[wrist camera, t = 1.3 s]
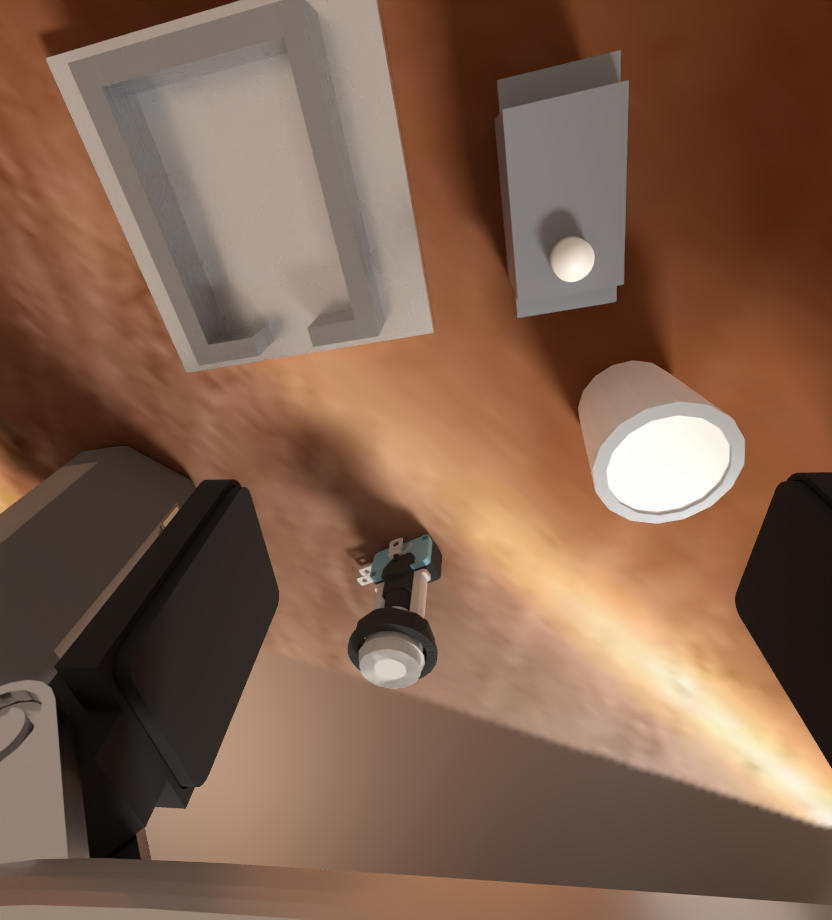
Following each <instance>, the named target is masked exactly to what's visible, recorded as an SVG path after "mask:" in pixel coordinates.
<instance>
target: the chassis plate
mask: <svg viewBox="0 0 832 920" xmlns="http://www.w3.org/2000/svg"><path fill="white" fill-rule="evenodd" d="M46 61H47V63H48V65H49V67H50V70H51V72H52V74H53V76H54V79H55V81H56V83H57V85H58V87H59V90H60V92H61V94H62V96H63V99H64V101H65V103H66V105H67V107H68V110H69V112H70V114H71V116H72V119H73V121H74V123H75V125H76V127H77V130H78V132H79V134H80V136H81V139H82V141H83V143H84V145H85V147H86V150H87V152H88V154H89V156H90V159H91V161H92V163H93V165H94V167H95V170H96V172H97V174H98V176H99V179H100V181H101V183H102V185H103V187H104V190H105V192H106V194H107V196H108V199H109V201H110V203H111V205H112V207H113V210H114V212H115V214H116V216H117V219H118V221H119V223H120V225H121V227H122V230H123V232H124V234H125V236H126V239H127V241H128V243H129V245H130V248H131V250H132V252H133V254H134V256H135V259H136V261H137V263H138V265H139V268H140V270H141V272H142V274H143V276H144V279H145V281H146V283H147V285H148V288H149V290H150V292H151V294H152V296H153V299H154V301H155V303H156V305H157V308H158V310H159V312H160V314H161V316H162V319H163V321H164V323H165V325H166V328H167V330H168V332H169V334H170V336H171V339H172V341H173V343H174V345H175V348H176V350H177V352H178V354H179V356H180V359H181V361H182V363H183V365H184V368H185V370H186V372H187V373H188V372H195V371H201V370H207V369H213V368H219V367H225V366H231V365H238V364H244V363H250V362H256V361H262V360H268V359H275V358H281V357H287V356H293V355H299V354H305V353H312V352H318V351H324V350H330V349H336V348H342V347H348V346H355V345H361V344H367V343H373V342H379V341H385V340H392V339H398V338H404V337H410V336H416V335H422V334H428V333H434V328H435V326H434V320H433V315H432V309H431V303H430V297H429V291H428V285H427V279H426V274H425V268H424V262H423V256H422V250H421V244H420V238H419V233H418V227H417V221H416V215H415V209H414V203H413V197H412V192H411V186H410V180H409V174H408V168H407V162H406V156H405V151H404V145H403V139H402V133H401V127H400V121H399V115H398V110H397V104H396V98H395V92H394V86H393V80H392V74H391V69H390V63H389V57H388V51H387V45H386V39H385V33H384V28H383V22H382V16H381V10H380V4H379V0H240V1H237V2H233V3H230V4H226V5H223V6H220V7H216V8H213V9H210V10H206V11H203V12H200V13H196V14H193V15H189V16H186V17H183V18H179V19H176V20H173V21H169V22H166V23H163V24H159V25H156V26H152V27H149V28H146V29H142V30H139V31H136V32H132V33H129V34H126V35H122V36H119V37H115V38H112V39H109V40H105V41H102V42H99V43H95V44H92V45H88V46H85V47H82V48H78V49H75V50H72V51H68V52H65V53H62V54H58V55H55V56H51V57H48V58H46Z"/></svg>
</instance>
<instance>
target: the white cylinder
mask: <svg viewBox="0 0 832 920" xmlns="http://www.w3.org/2000/svg"><path fill="white" fill-rule="evenodd" d="M578 413H579V419H580V425H581V429H582V434H583V438H584V443H585V447H586V451H587V456H588V460H589V465H590V469H591V474H592V478H593V482H594V487H595V491H596V493H597V495H598V496H599V497H600V498H601V500H602V501H603V502H604V504H605V505H606V506H607V507H608V509H609V510H611V511H613V512H615V513H617V514H619V515H621V516H623V517H625V518H627V519H629V520H631V521H639V522H647V523H656V524H657V523H663V522H669V521H674V520H680V519H685V518H687V517H689V516H691V515H693V514H696V513H698V512H700V511H702V510H704V509H706V508H708V507H710V506H712V505H713V504H714V503H715V502H716V501H717V500H718V499H719V498H721V497H722V496H723V495H724V494H725V493H726V492H727V491H728V490H729V489H730V488H732V486H733V484H734V482H735V480H736V479H737V477H738V475H739V473H740V471H741V469H742V467H743V465H744V456H745V439H744V437H743V435H742V434H741V432H740V430H739V428H738V427H737V425H736V423H735V421H734V420H733V418H731V417H730V416H728V415H727V414H726V413H724V412H723V411H721V410H720V409H719V408H717V407H716V406H714V405H713V404H712V403H710V402H709V401H707V400H706V399H705V398H703V397H702V396H700V395H699V394H698V393H696V392H695V391H693V390H692V389H691V388H689V387H688V386H686V385H685V384H684V383H682V382H681V381H679V380H678V379H677V378H675V377H674V376H672V375H671V374H670V373H668V372H667V371H665V370H663V369H662V368H660V367H658V366H657V365H655V364H653V363H651V362H642V361H633V360H632V361H628V362H624V363H619V364H615V365H612V366H610V367H609V368H607V369H606V370H604V371H602V372H601V373H599V374H598V375H596V376H595V377H594V378H593V379H592V380H591V382H590V383H589V384H588V386H587V387H586V388H585V389H584V391H583V392H582V396H581V399H580V403H579V406H578Z"/></svg>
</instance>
